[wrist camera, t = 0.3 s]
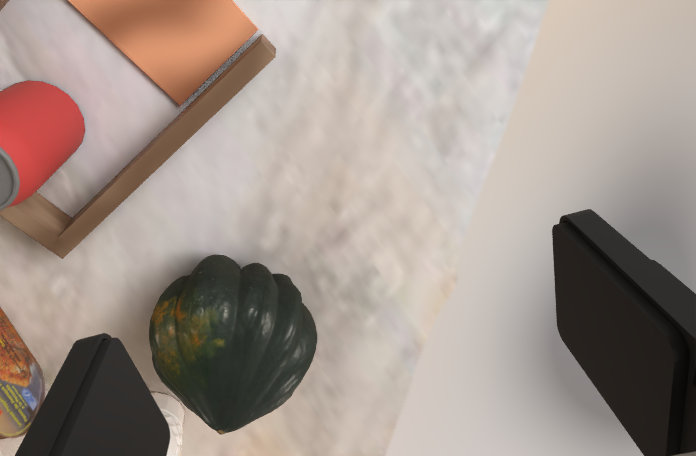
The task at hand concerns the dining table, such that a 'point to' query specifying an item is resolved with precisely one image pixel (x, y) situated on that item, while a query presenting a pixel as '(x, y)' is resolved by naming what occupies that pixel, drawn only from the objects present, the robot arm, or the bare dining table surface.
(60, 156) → the beer can
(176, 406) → the white cup
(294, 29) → the dining table surface
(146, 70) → the frame
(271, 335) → the squash
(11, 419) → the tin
